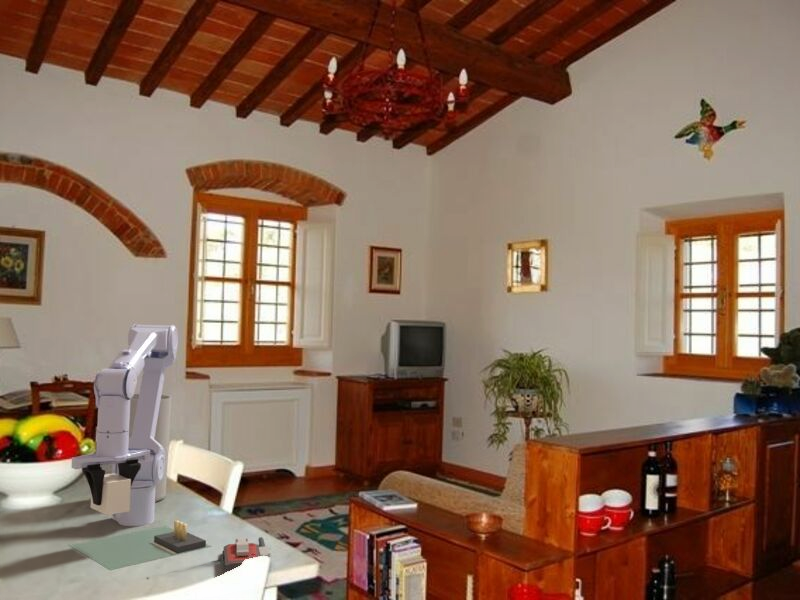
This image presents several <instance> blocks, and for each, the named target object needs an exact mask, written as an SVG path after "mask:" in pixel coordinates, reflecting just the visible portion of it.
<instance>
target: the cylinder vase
mask: <svg viewBox="0 0 800 600" xmlns="http://www.w3.org/2000/svg"><path fill="white" fill-rule="evenodd" d="M138 398H139V393H134V395H133V397H132V398H130V420H129V438H130V437H131V436H132V431H133V425H134V420H135V414H136V409H137V403H138ZM172 398H173V396H170V395H167V394H161V401H160V407H159V413H158V419H157V425H156V431H155V437H154V439H155V440H156V441H157V442H158V443H159V444H161V445H162V446H163V448H164V451H165V469H164V474H163V477H162V479H161V480H160V482H158V483H156V486H155V503H157V502H159V501H161V500H163V499H164V498H165V497H166V494H167V480H168V479H167V477H168V462H169V449H170V448H169V447H170V446H169V445H170V434H171V433H170V431H171V430H170V429H171V415H172V413H171V412H172V400H173V399H172Z"/></svg>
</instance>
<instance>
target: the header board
mask: <svg viewBox="0 0 800 600" xmlns="http://www.w3.org/2000/svg"><path fill="white" fill-rule="evenodd" d="M173 522H174V523H173V528H172V527H169V526H166V525H163V526H158V527H152V528H147V529H143V530H138V531H132V532H128V533H123V534H119V535H118V534H117V535H113V536H108V537H103V538H97V539H93V540H88V541H83V542H78V543H74V544H69V545H68V546H69V547H71V548H73V549H75V551H77V552H79V553H81V554H82V555H84V556H86V557H87V558H89V559H91V560H93V562H94V561H95V562H96V563H98V564H99V565H101V566H102V567H104V568H106V569H107V570H108V571H113V570H118V569H122V568H126V567H130V566H135V565H138V564H143V563H147V562H151V561H157V560H161V559H165V558H170V557H173V556H177V555H182V554H188V553H190V552H195V551H199V550H203V549H207V548H211V547H212V546H211V545H209V544H207V540H206V539H204V538H202V537H201V538H200V537H198V536H196V535H194V534H192V533H190V532H188V531H187V529H188V524H187V523H184V522H183V521H180V520H174V521H173Z"/></svg>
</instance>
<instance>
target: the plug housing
mask: <svg viewBox="0 0 800 600" xmlns="http://www.w3.org/2000/svg"><path fill="white" fill-rule="evenodd" d="M130 490H131V479H128V478H126V477H123V476H120V475H118V474H115V473H113V474H112V473H105V475H104V480H103V486H102V501H101V505H95V504H93V499H92V494H91V493H90V508H91V509H93V510H95V511H97V512H98V513H100V514H103V515H105V516H110V515H111V516H112V514H116V513H122V512H128V511H130Z"/></svg>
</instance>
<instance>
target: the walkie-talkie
mask: <svg viewBox="0 0 800 600" xmlns="http://www.w3.org/2000/svg"><path fill="white" fill-rule="evenodd" d="M257 541H258V544H257V543H254V542H249V539H248V538H235V543H228V544H226V545H224V546H223V550H222V563H223V574H224V573H225V572H227V571H230V570H232V569H234V568H236V567H238V566H240V565H241V564H242V562H243V561H244V560H245V559H249V558H253V557H258V556H268V557H270V558H271V548H270V546H266V544H265V540H264V538H263V537H262V536H261V537H258V539H257Z"/></svg>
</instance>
